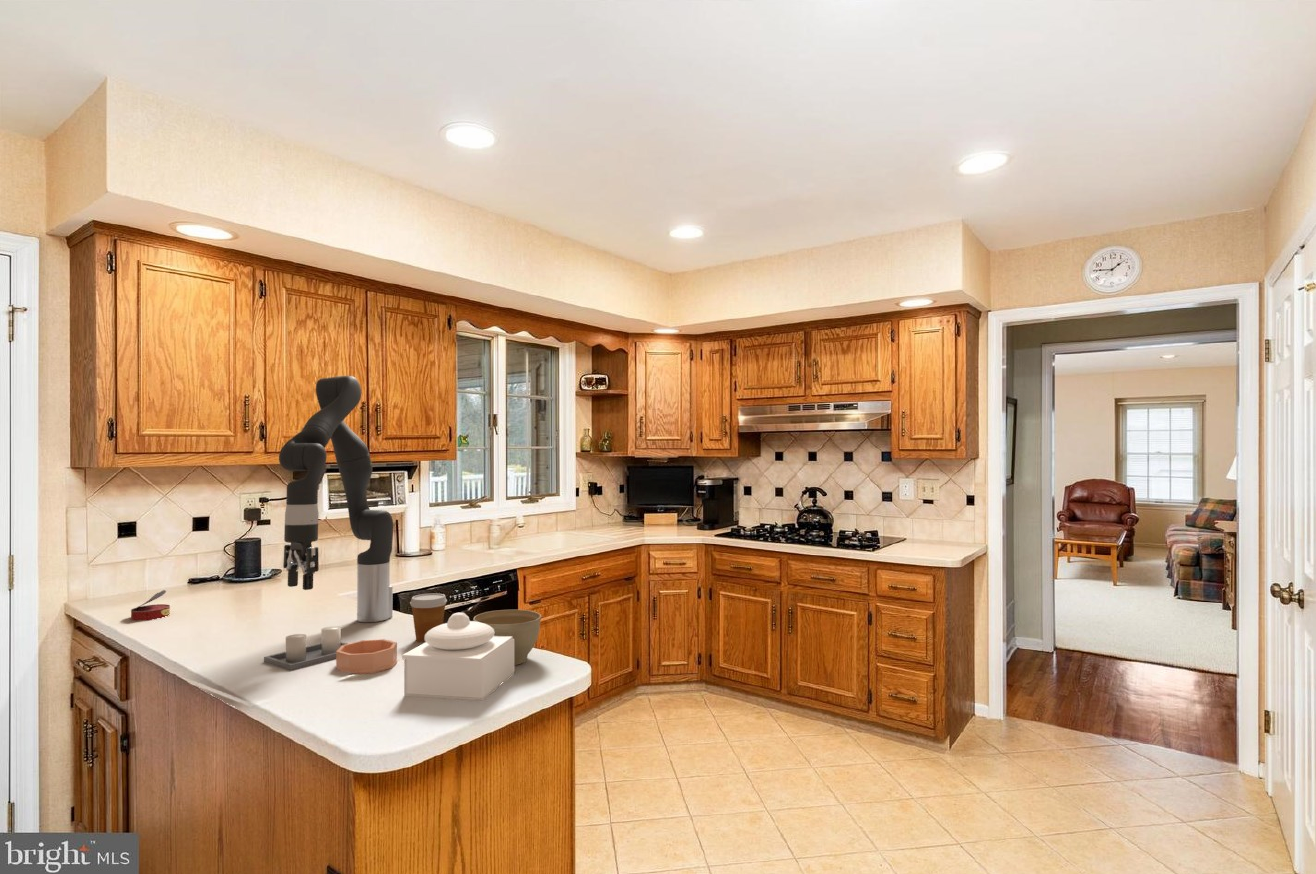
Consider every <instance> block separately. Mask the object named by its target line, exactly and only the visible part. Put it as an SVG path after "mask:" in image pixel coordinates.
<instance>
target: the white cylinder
mask: <svg viewBox="0 0 1316 874" xmlns="http://www.w3.org/2000/svg"><path fill="white" fill-rule="evenodd" d="M341 629H342V627H341V626H340V625H339V626H338V625H334V626H333V625H331V626H325V627H323V628H321V629H320V631H321V637H320V638H321V654H323V655H328V654H332V653H336V651H337V650H338V649H339V648H340V647H341V642H342V640H341V639H342V637H341V634H342V632H341Z"/></svg>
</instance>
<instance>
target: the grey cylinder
mask: <svg viewBox="0 0 1316 874" xmlns="http://www.w3.org/2000/svg"><path fill="white" fill-rule="evenodd" d="M306 647H307V634H305V633H295V634H290V635H287V636H286V637H285V652H286V662H288V663H291V664H293V663H297V662H301V661H305V660H306Z"/></svg>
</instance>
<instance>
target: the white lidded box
mask: <svg viewBox="0 0 1316 874" xmlns="http://www.w3.org/2000/svg"><path fill="white" fill-rule="evenodd" d="M494 634H495V632H494V629H493V628H492V627H491V626H489V625H487V624H484V623H481V622H475V621H474V620H470V617H469V616H468V615H467V613H464V612H456V613H452V614H451V616H450V617H449V618H448V620H447V622H445V623H443V624H442V625H439V626H436V627H434V628H432V629H431V630H429V631H428V632H427V633H426V634H425V637H424V639H425V641H426V642H425V643H424V642H423V643H422V644H420V645H419V646H416V647H414V648H413V649H410V650H409V651H407V652H405V653H404V654H402V657H401V658H402V659H403V660H404V665H403V666H404V671H403V673H404V674H403V675H404V676H403V677H404V678H403V679H404V681H403V682H404V684H403V686H404V687H403V688H404V691H403V692H404V697H415V698H416V697H418V698H432V699H433V698H435V699H448V700H449V699H453V700H469V701H470V700H471V701H484V700H485V699H486V698H487V697H489V696H490V695H491V694H492V693H493V692H494V691H496V690H497V689H498V688H499V687H500V686H501V685H500V684H501V683H502V682H504V683H505V682H506V681H508V680H507V679H508V678H509V677H510V676H511V675H512V674H513V673H514V674H515V665H514V639H513V637H512V636H494ZM514 674H513V675H514ZM513 675H512V676H513ZM512 676H511V677H512ZM511 677H510V678H511ZM510 678H509V679H510ZM499 685H500V686H499ZM498 686H499V687H498ZM497 687H498V688H497ZM496 688H497V689H496ZM495 689H496V690H495ZM489 694H490V695H489Z"/></svg>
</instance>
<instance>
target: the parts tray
mask: <svg viewBox="0 0 1316 874" xmlns="http://www.w3.org/2000/svg"><path fill="white" fill-rule="evenodd" d="M346 644H349V643H348V642H343V641H341V646H342V645H346ZM333 660H336V653H332V654H328V655H323V654H321V643H316V644H312V645H311V644H310V645H308V646H307V645H306V660H305V661H301V662H297V663H293V664H291V663H288V662H286V651H283V652H280V653H274V654H270V655H267V656H266V655H265V656H263V663H266V664H269V665H270V666H275V667H278V668H281V669H285V670H287V671H295V670H298V669H301V668H302V669H303V668H306V667H310V666H314V665H317V664H321V663H325V662H329V661H333Z"/></svg>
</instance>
